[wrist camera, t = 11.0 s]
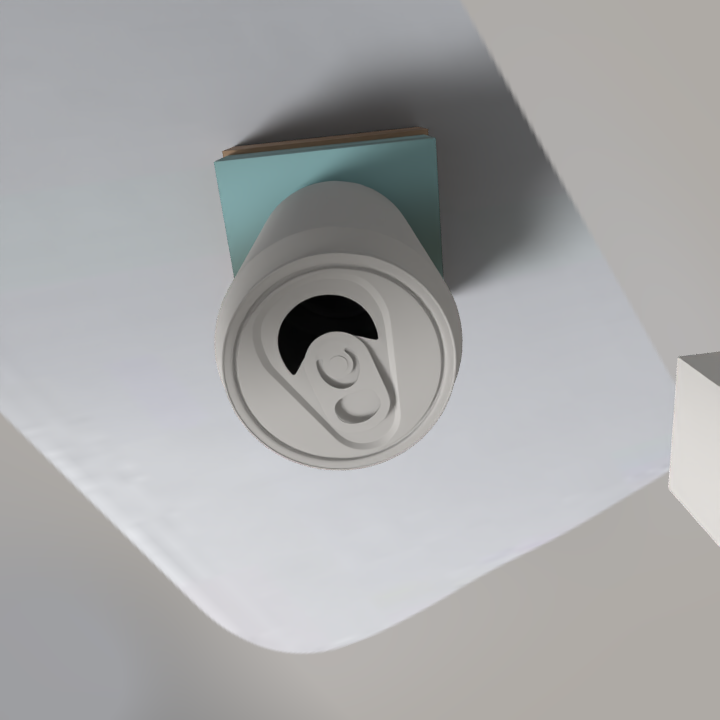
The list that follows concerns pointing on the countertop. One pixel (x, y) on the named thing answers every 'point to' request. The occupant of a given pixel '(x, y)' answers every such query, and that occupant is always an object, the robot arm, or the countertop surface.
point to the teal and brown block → (331, 163)
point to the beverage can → (338, 331)
